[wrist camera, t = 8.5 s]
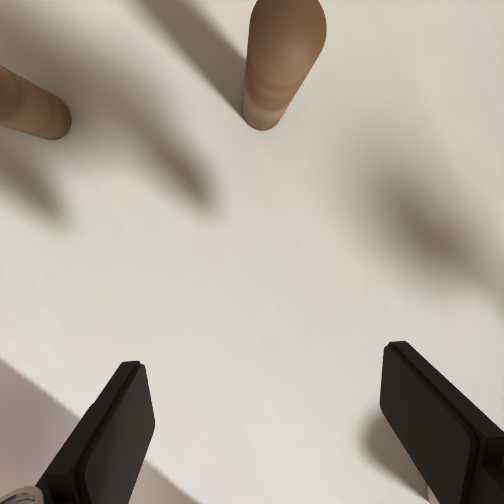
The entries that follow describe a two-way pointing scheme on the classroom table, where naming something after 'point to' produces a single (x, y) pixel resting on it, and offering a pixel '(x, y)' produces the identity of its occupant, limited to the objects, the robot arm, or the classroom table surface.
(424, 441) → the robot arm
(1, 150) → the classroom table surface
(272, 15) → the right post
